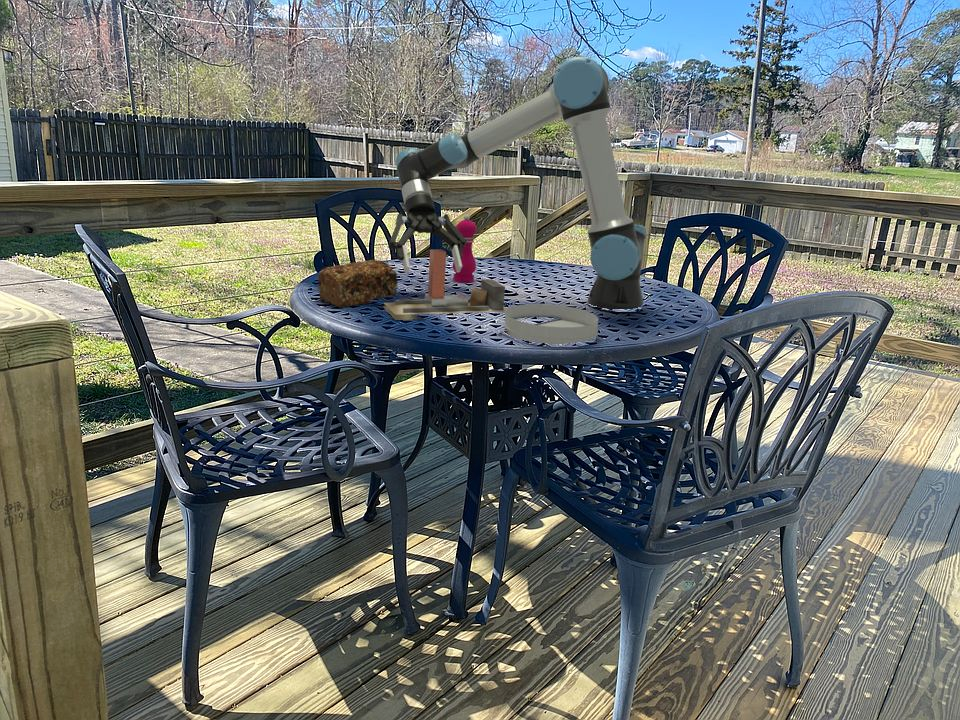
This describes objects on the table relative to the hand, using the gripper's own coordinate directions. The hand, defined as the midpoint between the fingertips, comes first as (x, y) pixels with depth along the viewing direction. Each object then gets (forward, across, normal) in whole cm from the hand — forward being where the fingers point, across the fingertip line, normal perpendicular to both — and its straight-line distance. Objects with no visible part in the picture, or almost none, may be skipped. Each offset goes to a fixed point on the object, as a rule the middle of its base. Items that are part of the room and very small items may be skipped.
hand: (433, 270), depth 184 cm
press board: (+9, -3, -6) cm, 11 cm away
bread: (-3, +16, -18) cm, 24 cm away
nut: (+8, -12, -5) cm, 15 cm away
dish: (+25, -21, +9) cm, 34 cm away
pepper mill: (-18, -21, -33) cm, 43 cm away
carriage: (+7, -3, -5) cm, 10 cm away
